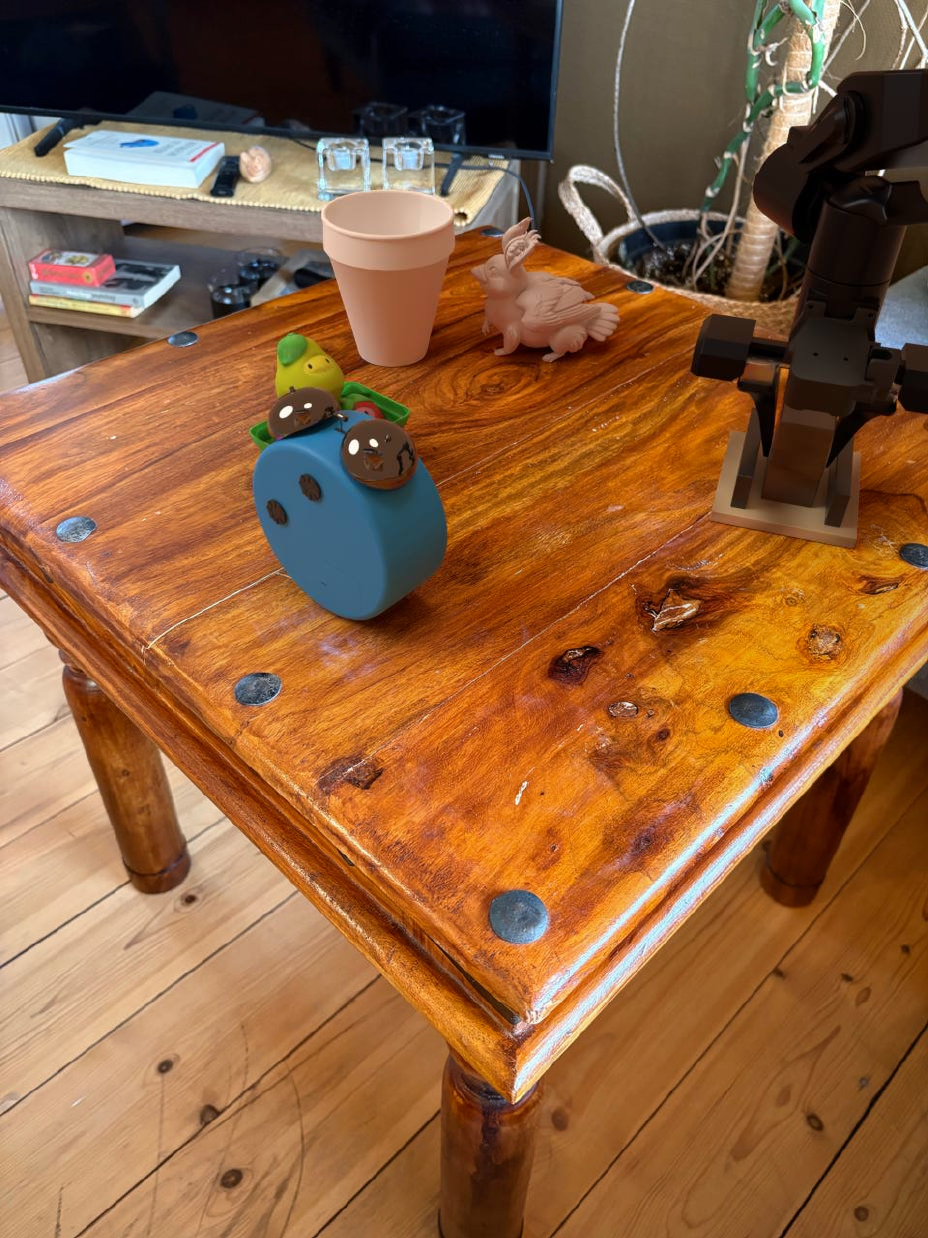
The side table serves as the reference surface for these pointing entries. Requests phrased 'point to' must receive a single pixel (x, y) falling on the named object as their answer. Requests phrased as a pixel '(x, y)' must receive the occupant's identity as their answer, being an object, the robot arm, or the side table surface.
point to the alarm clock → (347, 505)
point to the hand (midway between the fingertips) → (795, 459)
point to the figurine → (538, 301)
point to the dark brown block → (798, 456)
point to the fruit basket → (323, 385)
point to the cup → (389, 268)
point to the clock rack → (821, 523)
